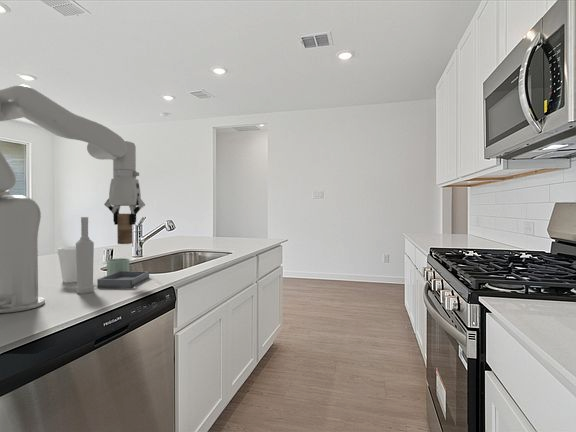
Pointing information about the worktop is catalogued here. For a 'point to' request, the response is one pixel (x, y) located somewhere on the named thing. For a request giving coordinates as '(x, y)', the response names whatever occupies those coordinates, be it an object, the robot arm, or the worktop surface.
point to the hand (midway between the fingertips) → (124, 223)
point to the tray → (122, 279)
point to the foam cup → (68, 263)
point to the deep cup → (117, 265)
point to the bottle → (84, 260)
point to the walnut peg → (124, 229)
